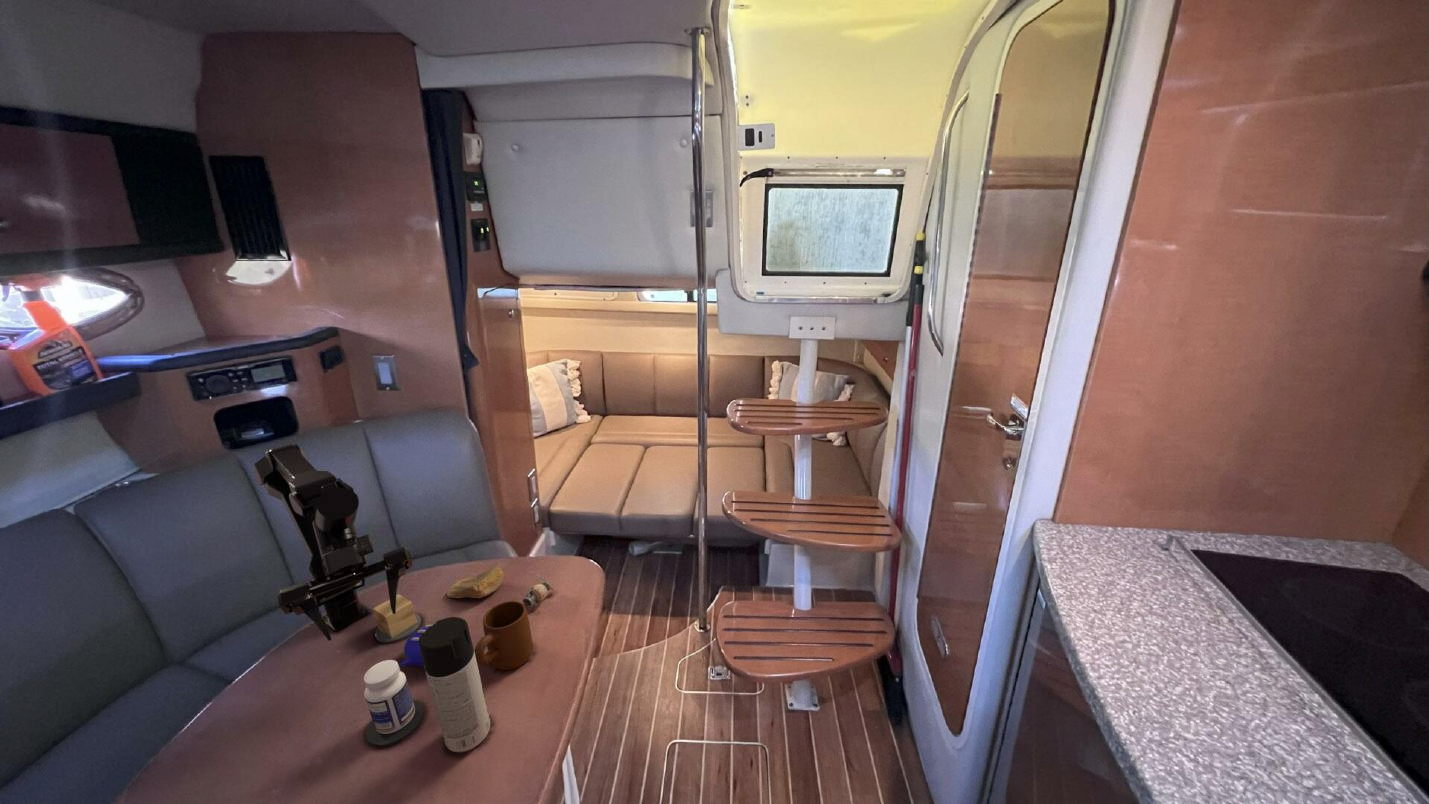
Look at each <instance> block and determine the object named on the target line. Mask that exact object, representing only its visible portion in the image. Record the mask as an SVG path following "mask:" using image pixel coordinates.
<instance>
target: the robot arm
mask: <svg viewBox="0 0 1429 804" xmlns="http://www.w3.org/2000/svg"><path fill="white" fill-rule="evenodd" d="M253 473H254V476H255V479H256V482H257V483H258V486H260V487H261V486H263V487H264V489H265V492H266V493H267V494H268V496H271V497H273V498H276V499H277V500H279V501H281V502H282V503H283V505H284V507H285V509H286V511H287V513H288V516H289V517H290V519H291V521H292V524H293V525H294V527H295V530H296V531H297V533H298V535H299V537H300V539H301V541H302V543H303V545H304V548H305V549H306V552H307V553H308V555H309V558H310V562H309V567H308V580H304V581H302V582H299V583H296V584H293V585H290V586H287V587H284V588H282V589H280V590H279V591H278V593H277V601H278V607H279V608H280V609H281V610H282V612H283V613H284V615H285V614H286V615H289V614H292V613H294V614H295V615H296V616H301V615H303V614H304V615H305V616H307V617H308V618H309V619H310V620H311V621H312V622H313V623H314V624H315V625H316V626H317V627H318V629H319V630H320V631H321V632H322V634H323V635H324V637H325V638H326V639H327V641H328V642H330V641H332V635H331V632H330V629H331V630H332V631H334V632H339V631H340V630H342V629H344V628H346V627H347V626H349V625H351V624H353V623H355V622H356V621H358V620H360V619H362V618H363V617H365V616H367V615H369V614H370V609H368V608H366V607H365V606H364V605H362V604H361V602H360V599H359V596H358V592H357V590H358V589H360V588H362V587H365V586H366V579H368V578H371V577H373V576H375V575H378V574H381V573H383V572H385V575H386V583H387V591H388V597H389V599H390V606H391V610H392V613H393V614H396V596H397V595H398V588H399V583H400V578H401V577H404V576H405V575H406V574H407V572H406V571H407V570H410V569H411V568H413V558H412V555H411V552H410V550H409V548H408V547H405V546H402V547H400V548H397V549H394V550H391V551H388V552H385V553H382V560H380V561H378V562H375V563H372V564H369V565H367V563H368V562H367V559H366V555H370V554H372V553H373V554H374V552H375V549H374V547H373V543H372V540H371V536H370V534H369V533H368V534H364V535H361V536H359V535H358V532H357V528H356V524H355V521H356V518H357V515H358V510H359V505H360V499H359V496H358V494H357V493H356V492H355V490H354V488H353V487H352V486H351V485H349V484H348V483H346V482H344V481H343V480H342V479H341V478H340V477H338V478H337V476H336V475H334V474H333V473H332V472H330V471H328V470H317V469H316V467H314V465H312V464H311V463H310V461H309V459H308V456H307V454H306V453H305V450H304V449H301V448H300V447H299V445H298V444H297V443H295V444H294V443H290V444H287V445H282V446H278V447H274V448H271V449H269V450H268V451H266V452H265V455H264V456H263V457H262V458H260V459H259V460H257V461H255V462H254V463H253ZM322 606H323V607H324V611H325V614H326V615H325V616H323V614H322V612H321V610H320V607H322Z"/></svg>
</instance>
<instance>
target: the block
mask: <svg viewBox="0 0 1429 804" xmlns="http://www.w3.org/2000/svg"><path fill="white" fill-rule="evenodd" d="M372 610H373V614H374V618H375V620H376V625H377V628H378V627H379V629H380V630H381V631H382V632H384V633H385V634H387V635H388V636H389V637H391V638H393V637H395V636H397V635H398V634H400V633H401V632H403V631H405V630H406V629H408V628H409V627H411V626H413V625H414V624H416V623H417V621H416V617H415V613H416V612H415V609H414V606H413V602H412V601H411V600H409V599H407V598H405V597H404V596H402V595H401V594H399V593H397V596H396V614H393V613H392V610H391V606H390V598H389V599H387V600H386V601H383V602H382V603H380V604H379V605H377V606H375V607H373V608H372Z"/></svg>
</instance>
